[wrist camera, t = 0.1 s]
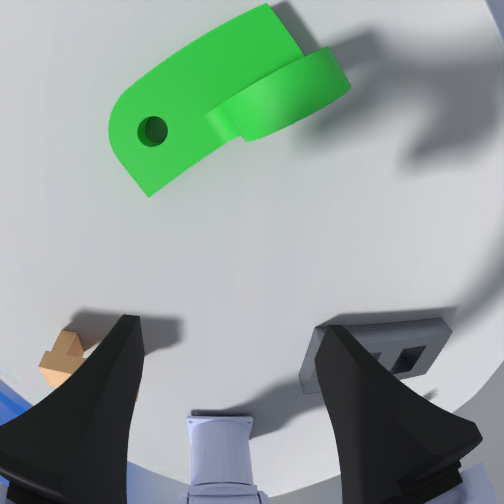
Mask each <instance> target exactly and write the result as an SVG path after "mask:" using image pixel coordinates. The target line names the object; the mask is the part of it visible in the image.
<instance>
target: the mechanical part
mask: <svg viewBox="0 0 504 504" xmlns="http://www.w3.org/2000/svg"><path fill="white" fill-rule="evenodd" d="M350 88H351V84H350V83H349V81H348V79H347V77H346V75H345V74H344V72H343V70H342V68H341V67H340V65H339V63H338V62H337V60H336V58H335V57H334V55H333V53H332V52H331V50H330V49H329V47H328V46H327V47H325V48H322V49H320V50H318V51H316V52H314V53H311V54H309V55H307V56H304V54H303V53H302V51H301V50H300V48H299V47H298V45H297V44H296V42H295V41H294V39H293V38H292V37H291V35H290V34H289V32H288V31H287V29H286V28H285V27H284V25H283V24H282V23H281V21H280V20H279V18H278V17H277V16H276V14H275V13H274V12H273V11H272V9H271V8H270V7H269V5H268V4H267V3H265V4H263V5H261V6H258V7H256V8H254V9H252V10H250V11H248V12H246V13H244V14H242V15H240V16H238V17H236V18H234V19H232V20H230V21H228V22H226V23H224V24H223V25H221V26H219V27H217V28H215V29H214V30H212V31H210V32H208V33H207V34H205V35H203V36H202V37H200V38H198V39H197V40H195V41H193V42H192V43H190V44H189V45H187V46H186V47H184V48H182V49H181V50H179V51H178V52H176V53H175V54H173V55H172V56H171V57H169V58H168V59H166V60H165V61H163V62H162V63H161V64H159V65H158V66H156V67H155V68H154V69H152V70H151V71H150V72H148V73H147V74H146V75H144V76H143V77H142V78H140V79H139V80H138V81H137V82H135V83H134V84H133V85H132V86H130V87H129V88H128V89H127V90H126V91H125V92H124V93H123V94H122V95H121V96H120V98H119V99H118V100H117V102H116V104H115V105H114V108H113V110H112V112H111V115H110V120H109V139H110V144H111V147H112V149H113V151H114V153H115V155H116V157H117V158H118V160H119V161H120V162H121V163H122V165H123V166H124V167H125V169H126V170H127V171H128V172H129V174H130V175H131V176H132V178H133V179H134V180H135V181H136V183H137V184H138V185H139V186H140V188H141V189H142V190H143V192H144V193H145V194H146V195H147V197H148V198H149V197H151V196H152V195H153V194H155V193H156V192H157V191H159V190H160V189H161V188H163V187H164V186H165V185H166V184H168V183H169V182H171V181H172V180H173V179H175V178H176V177H177V176H179V175H180V174H181V173H183V172H184V171H186V170H187V169H188V168H190V167H191V166H193V165H194V164H196V163H197V162H198V161H200V160H201V159H203V158H204V157H206V156H207V155H209V154H210V153H212V152H213V151H214V150H216V149H217V148H219V147H220V146H222V145H224V144H225V143H227V142H228V141H230V140H232V139H234V138H236V137H238V136H242V137H243V139H244V140H245V141H253V140H256V139H259V138H262V137H265V136H267V135H269V134H272V133H274V132H276V131H278V130H281V129H283V128H285V127H287V126H289V125H291V124H293V123H295V122H297V121H299V120H301V119H303V118H305V117H307V116H309V115H311V114H313V113H314V112H316V111H318V110H320V109H322V108H323V107H325V106H327V105H328V104H330V103H332V102H333V101H335V100H336V99H338V98H339V97H341V96H342V95H343V94H345V93H346V92H347V91H348V90H349V89H350ZM153 116H157V117H160V118H161V119H163V120H164V121H165V123H166V124H167V127H168V134H167V137H166V139H165V141H164V142H161V143H155V142H152V141H151V140H149V139H148V137H147V136H146V133H145V126H146V123H147V121H148V120H149V119H150V118H151V117H153Z"/></svg>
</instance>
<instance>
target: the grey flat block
mask: <svg viewBox="0 0 504 504" xmlns="http://www.w3.org/2000/svg"><path fill="white" fill-rule="evenodd" d="M343 327H344V328H346V329H347V330H348V331H349V332H350V333H351V334H352V335H353V337H354V338H355V339H356V340H357V341H358V342H359V343H360V344H361V345H362V346H363V347H364V348H365V349H366V350H367V351H368V352H369V353H370V354H371V355H372V356H373V357H374V358H375V359H376V360H377V361H378V362H379V363H380V364H381V365H382V366H384V367H385V368H386V369H387V370H388V371H389V372H390V373H391V374H392V375H394V376H395V377H396V378H397V379H398V380H401V379H406V378H411V377H415V376H419V375H423V374H426V372H427V371H428V370H429V368H430V367H431V365H432V364H433V362H434V361H435V359H436V358H437V356H438V355H439V353H440V352H441V350H442V348H443V347H444V345H445V344H446V342H447V340H448V339H449V337H450V336H451V334H452V330H451V329H450V328H449V326H448V325H447V324H446V322H445V321H444V320H443V319H442V318H435V319H426V320H417V321H407V322H396V323H385V324H372V325H357V326H343ZM326 329H327V327H315V328H314V332H313V335H312V338H311V341H310V344H309V347H308V350H307V353H306V356H305V358H304V361H303V364H302V367H301V370H300V373H299V378H300V382H301V386H302V390H303V393H304V394H308V393H318V392H321V389H320V386H319V382H318V378H317V373H316V367H315V361H314V358H315V356H316V354H317V351H318V349H319V346H320V344H321V342H322V339H323V337H324V334H325V332H326ZM403 349H406V350H405V351H404V353H403V355H402V356H399V355H400V354H401V352H402V350H403Z"/></svg>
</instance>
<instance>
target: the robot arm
mask: <svg viewBox="0 0 504 504" xmlns="http://www.w3.org/2000/svg"><path fill="white" fill-rule="evenodd" d="M144 355H145V352H144V346H143V339H142V332H141V325H140V317H139V316H133V315H123V316H122V317H121V318H120V319H119V320H118V322H117V323H116V324H115V326H114V327H113V328H112V329H111V331H110V332H109V333H108V334H107V336H106V337H105V338H104V339H103V341H102V342H101V343H100V344H99V345H98V347H97V348H96V349H95V350H94V351H93V352H92V354H91V355H90V356H89V357H88V358H87V359H86V360H85V361H84V362H83V363H82V364H81V366H80V367H79V368H78V369H77V370H76V371H75V372H74V373H73V374H72V375H71V376H70V377H69V378H68V379H67V380H66V381H64V382H63V383H62V384H61V385H60V386H59V387H58V388H57V389H55V390H54V391H53V392H52V393H51V394H49V395H48V396H47V397H46V398H44V399H43V400H42V401H40V402H39V403H38V404H36V405H35V406H33V407H32V408H30V409H29V410H27V411H26V412H24V413H23V414H21V415H20V416H18V417H17V418H15V419H13V420H11V421H9V422H7V423H6V424H3V425H1V426H0V475H1V476H3V477H4V478H5V479H7V480H8V481H10V483H9V487H7V486H6V485H4V484H2V483H0V504H127V494H126V471H127V451H128V439H129V430H130V424H131V419H132V415H133V411H134V406H135V402H136V398H137V394H138V389H139V385H140V381H141V377H142V370H143V363H144ZM314 361H315V367H316V373H317V378H318V382H319V386H320V389H321V392H322V395H323V398H324V401H325V404H326V407H327V410H328V413H329V417H330V420H331V423H332V426H333V430H334V434H335V439H336V444H337V450H338V456H339V463H340V471H341V481H342V499H343V504H495V503H496V502H497V501H498V497H497V495H496V492H495V490H494V487H493V485H492V483H491V480H490V478H489V476H488V473H487V471H486V469H485V467H484V465H483V462H482V461H479V462H477V463H476V464H474V465H473V466H471V467H469V468H468V469H466V470H464V471H463V472H461V473H459V471H458V469H459V468H460V467H461V463H460V461H459V460H460V459H461V458H462V457H464V456H465V455H466V454H468V453H469V452H470V451H472V450H473V449H474V448H475V447H476V446H478V445H479V444H480V443H481V441H482V439H483V438H482V436H481V434H480V432H479V430H478V428H477V426H476V424H475V423H474V422H471V421H469V420H466V419H464V418H461V417H458V416H456V415H454V414H452V413H450V412H447V411H445V410H443V409H441V408H440V407H438V406H436V405H434V404H432V403H431V402H429V401H428V400H426V399H424V398H423V397H421V396H420V395H418V394H417V393H415V392H414V391H413V390H411V389H410V388H409V387H407V386H406V385H405V384H403V383H402V382H401V381H400V380H398V379H397V378H396V377H395V376H394V375H392V374H391V373H390V372H389V371H388V370H387V369H386V368H385V367H384V366H382V365H381V364H380V363H379V362H378V361H377V360H376V359H375V358H374V357H373V356H372V355H371V354H370V353H369V352H368V351H367V350H366V349H365V348H364V347H363V346H362V345H361V344H360V343H359V342H358V341H357V340H356V339H355V338H354V337H353V335H352V334H351V333H350V332H349V331H348V330H347V329H346V328H344V327H343V326H342V325H328V327H327V329H326V332H325V334H324V337H323V339H322V342H321V344H320V346H319V349H318V351H317V354H316V356H315V358H314ZM186 421H187V428H188V434H189V439H190V445H191V486H189V491H184V492H183V493H182V494H181V495H180V496H179V499H178V504H271V503H270V500H269V497H268V495H267V494H265V493H264V492H263V491H257V485H254V483H253V475H252V467H251V458H250V449H249V441H248V440H249V436H250V432H251V428H252V424H253V417H250V416H248V417H207V416H187V417H186Z"/></svg>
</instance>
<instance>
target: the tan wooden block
mask: <svg viewBox="0 0 504 504" xmlns="http://www.w3.org/2000/svg"><path fill="white" fill-rule="evenodd" d="M83 354H84V350H83V348H82V345H81V342H80V340H79V337H78V334H77V332H72V331H65V330H61V332H60V334H59V336H58V338H57V340H56V342H55V344H54V346H53V348H52V350H51V352H49V351H45V353H44V356H43V358H42V360H41V362H40V364H39V366H38V367H39V369H40V370H41V372H42V374H43V376H44V377H45V379H46V381H47V382H48V384H49V386H53V387H57V388H58V387H59V386H60V385H61V384H62V383H63V382H64V381H66V380H67V379H68V378H69V377H70V376H71V375H72V374H73V373H74V372H75V371H76V370H77V369H78V368H79V367H80V366H81V364H82V363H83V362H84V361H85V360H86V359H87V358H82V356H83ZM139 387H140V385H139ZM138 392H139V389H138ZM137 398H138V394H137ZM137 398H136V402H137Z"/></svg>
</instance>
